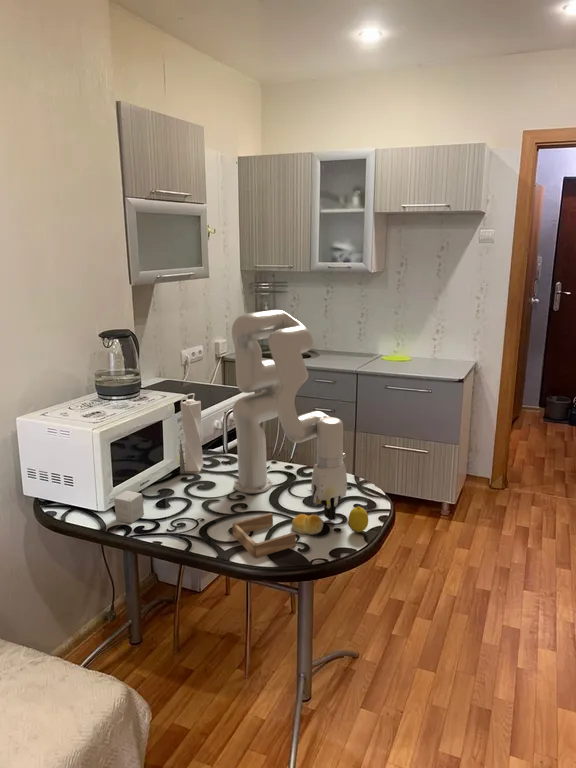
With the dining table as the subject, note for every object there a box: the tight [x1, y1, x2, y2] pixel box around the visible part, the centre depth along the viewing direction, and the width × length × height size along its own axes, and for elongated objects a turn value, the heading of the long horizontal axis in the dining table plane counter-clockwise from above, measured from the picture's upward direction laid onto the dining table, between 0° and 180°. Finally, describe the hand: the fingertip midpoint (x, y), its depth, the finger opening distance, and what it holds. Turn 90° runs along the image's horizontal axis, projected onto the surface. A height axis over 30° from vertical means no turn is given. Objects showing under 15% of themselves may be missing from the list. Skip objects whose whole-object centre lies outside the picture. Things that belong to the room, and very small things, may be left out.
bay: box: [231, 512, 297, 559], centre depth 164 cm, size 14×12×4 cm
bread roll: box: [291, 513, 324, 535], centre depth 171 cm, size 8×9×4 cm
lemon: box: [348, 506, 369, 534], centre depth 167 cm, size 6×6×8 cm
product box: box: [113, 490, 145, 524], centre depth 178 cm, size 6×6×7 cm
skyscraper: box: [178, 393, 204, 475], centre depth 212 cm, size 8×8×28 cm
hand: (329, 517), depth 175 cm, fingers closed
